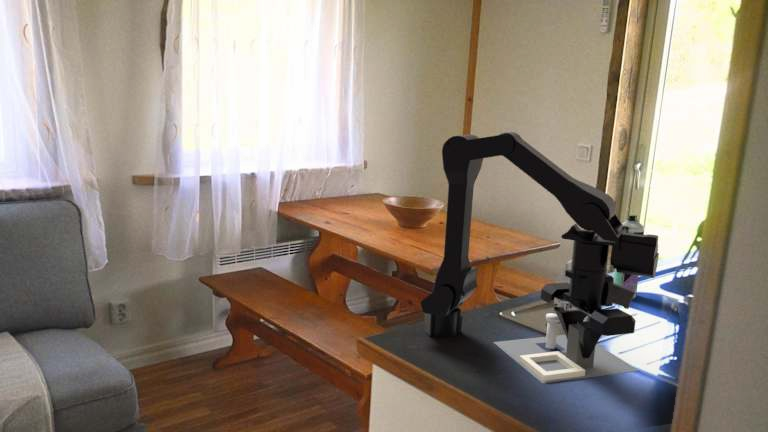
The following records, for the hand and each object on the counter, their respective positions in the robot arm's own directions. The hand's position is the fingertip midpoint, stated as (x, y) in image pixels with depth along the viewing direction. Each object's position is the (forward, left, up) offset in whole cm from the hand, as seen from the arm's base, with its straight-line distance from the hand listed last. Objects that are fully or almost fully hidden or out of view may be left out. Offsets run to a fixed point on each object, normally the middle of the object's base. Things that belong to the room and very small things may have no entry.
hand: (580, 353), depth 106 cm
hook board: (-1, +4, -4) cm, 5 cm away
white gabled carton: (+20, +33, -4) cm, 39 cm away
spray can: (+37, +34, -4) cm, 51 cm away
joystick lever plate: (-4, 0, -2) cm, 4 cm away
